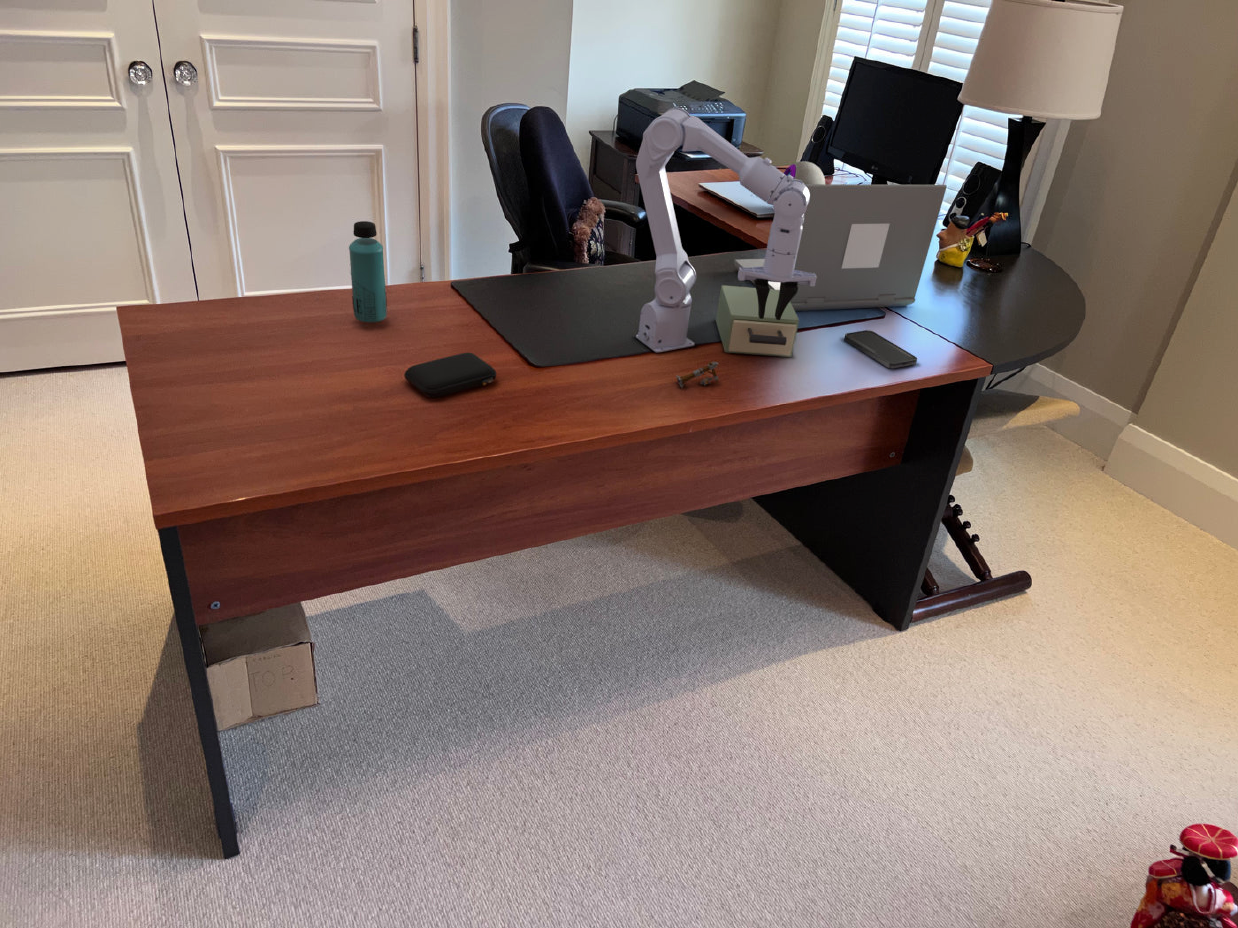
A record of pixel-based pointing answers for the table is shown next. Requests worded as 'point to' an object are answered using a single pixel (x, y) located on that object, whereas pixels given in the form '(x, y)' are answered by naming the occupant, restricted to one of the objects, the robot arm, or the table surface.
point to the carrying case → (450, 374)
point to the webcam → (805, 173)
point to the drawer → (762, 337)
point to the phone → (880, 349)
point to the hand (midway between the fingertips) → (769, 317)
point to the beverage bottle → (367, 274)
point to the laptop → (863, 245)
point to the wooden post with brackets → (698, 372)
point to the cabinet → (748, 312)
